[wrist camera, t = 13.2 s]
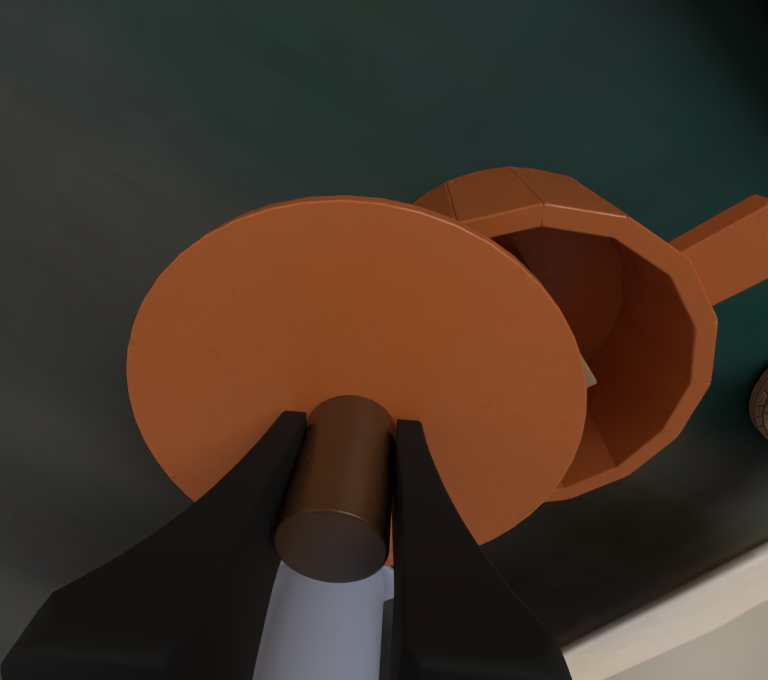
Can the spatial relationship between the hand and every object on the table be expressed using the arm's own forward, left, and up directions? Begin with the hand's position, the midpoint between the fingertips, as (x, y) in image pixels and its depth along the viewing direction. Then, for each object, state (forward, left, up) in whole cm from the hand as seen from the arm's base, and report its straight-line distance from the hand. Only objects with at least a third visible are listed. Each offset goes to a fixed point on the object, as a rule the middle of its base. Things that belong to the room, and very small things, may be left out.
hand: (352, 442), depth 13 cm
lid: (0, 0, -1) cm, 1 cm away
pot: (+4, -4, -10) cm, 11 cm away
